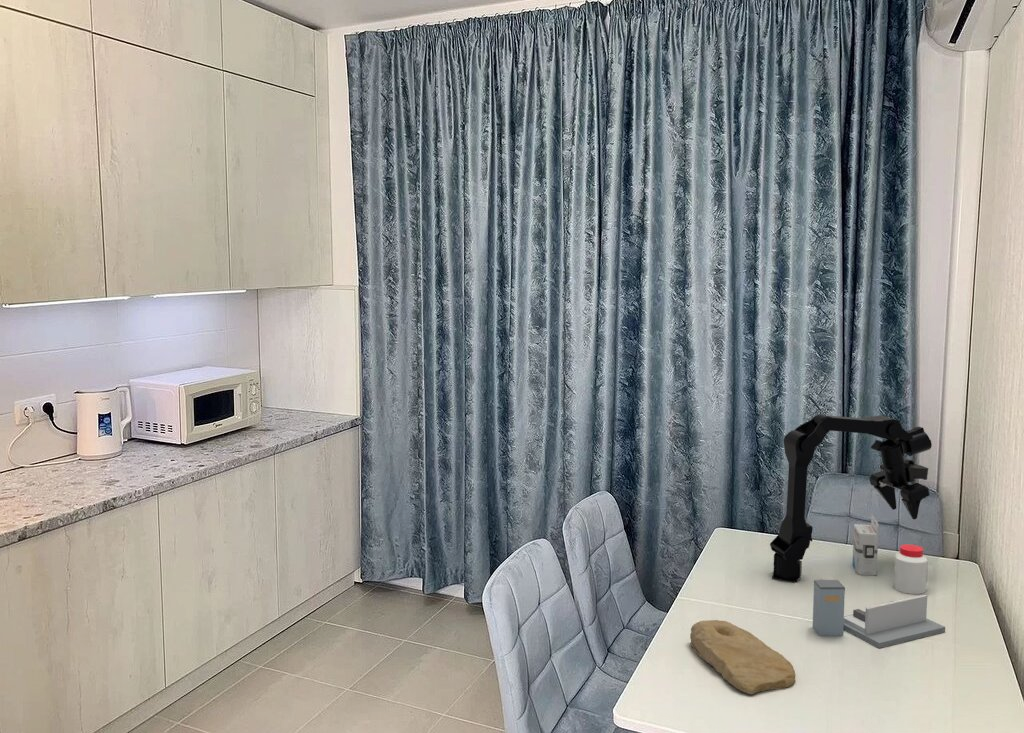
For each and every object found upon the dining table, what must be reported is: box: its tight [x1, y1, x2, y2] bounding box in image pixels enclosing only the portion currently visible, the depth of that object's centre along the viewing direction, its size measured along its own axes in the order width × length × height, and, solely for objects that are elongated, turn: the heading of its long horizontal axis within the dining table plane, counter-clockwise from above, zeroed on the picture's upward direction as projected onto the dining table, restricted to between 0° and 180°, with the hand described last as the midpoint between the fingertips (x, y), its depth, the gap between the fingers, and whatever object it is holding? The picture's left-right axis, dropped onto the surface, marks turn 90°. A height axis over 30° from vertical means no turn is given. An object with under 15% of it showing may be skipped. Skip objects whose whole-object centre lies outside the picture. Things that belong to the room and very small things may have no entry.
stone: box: [689, 619, 796, 695], centre depth 181 cm, size 15×26×6 cm, turn 17°
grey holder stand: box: [843, 594, 946, 649], centre depth 197 cm, size 14×20×7 cm
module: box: [812, 579, 846, 636], centre depth 195 cm, size 5×6×12 cm
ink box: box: [852, 514, 879, 576], centre depth 233 cm, size 9×5×15 cm, turn 168°
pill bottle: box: [893, 543, 929, 595], centre depth 220 cm, size 8×8×11 cm
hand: (904, 513), depth 233 cm, fingers open, 9 cm apart
